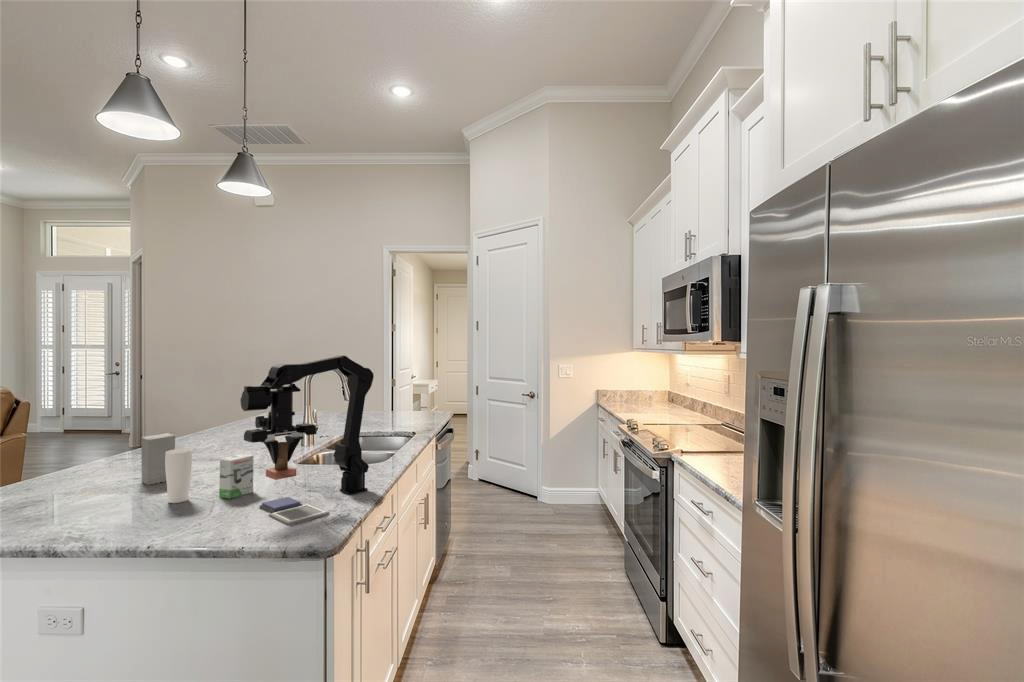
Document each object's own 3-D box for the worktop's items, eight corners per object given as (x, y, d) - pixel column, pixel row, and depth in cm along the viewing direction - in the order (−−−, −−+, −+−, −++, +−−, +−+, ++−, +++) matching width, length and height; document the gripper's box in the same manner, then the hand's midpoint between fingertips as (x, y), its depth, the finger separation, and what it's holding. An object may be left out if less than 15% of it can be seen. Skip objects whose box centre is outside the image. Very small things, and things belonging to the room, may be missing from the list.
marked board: (308, 506, 147) (308, 503, 147) (329, 514, 139) (329, 511, 139) (268, 516, 138) (268, 513, 138) (288, 525, 131) (288, 522, 131)
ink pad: (288, 501, 151) (288, 496, 151) (302, 506, 146) (302, 501, 146) (259, 508, 145) (259, 502, 145) (273, 514, 139) (273, 508, 139)
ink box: (230, 499, 153) (230, 460, 153) (218, 497, 155) (218, 458, 155) (254, 491, 161) (254, 454, 161) (242, 490, 163) (242, 453, 163)
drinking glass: (196, 499, 153) (197, 449, 153) (173, 505, 146) (174, 454, 147) (182, 496, 155) (183, 447, 156) (159, 502, 149) (160, 451, 149)
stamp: (286, 472, 150) (286, 440, 150) (296, 475, 146) (296, 442, 146) (265, 476, 145) (266, 443, 145) (275, 479, 141) (275, 445, 141)
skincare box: (168, 477, 178) (168, 432, 178) (176, 480, 174) (177, 434, 174) (139, 482, 171) (140, 435, 171) (147, 486, 167) (148, 438, 167)
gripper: (299, 403, 158) (298, 453, 158) (235, 408, 144) (235, 463, 143) (317, 406, 151) (317, 458, 151) (253, 412, 136) (252, 470, 136)
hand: (281, 462), depth 145 cm, fingers closed on stamp, 3 cm apart
